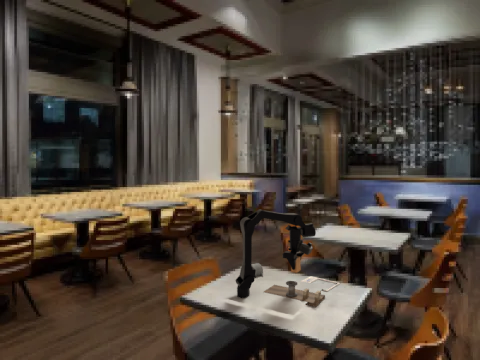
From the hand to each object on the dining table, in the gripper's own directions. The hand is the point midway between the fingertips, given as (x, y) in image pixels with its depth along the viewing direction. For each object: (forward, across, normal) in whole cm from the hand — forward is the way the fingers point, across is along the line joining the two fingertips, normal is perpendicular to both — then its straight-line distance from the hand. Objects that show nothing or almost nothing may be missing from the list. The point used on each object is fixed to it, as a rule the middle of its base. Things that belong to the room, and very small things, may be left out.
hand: (295, 268), depth 177 cm
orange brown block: (+2, 0, 0) cm, 2 cm away
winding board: (+12, -7, -1) cm, 14 cm away
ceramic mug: (+12, +8, +29) cm, 33 cm away
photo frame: (+13, +16, -6) cm, 22 cm away
